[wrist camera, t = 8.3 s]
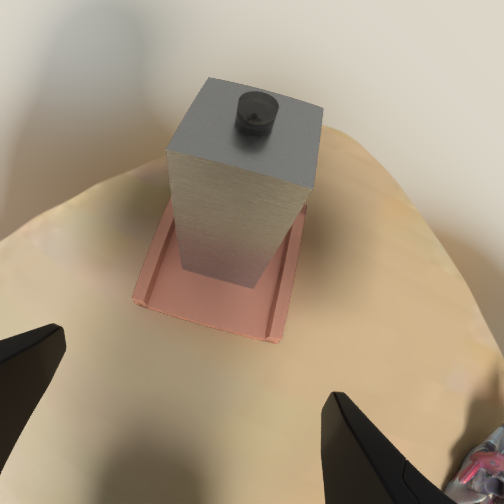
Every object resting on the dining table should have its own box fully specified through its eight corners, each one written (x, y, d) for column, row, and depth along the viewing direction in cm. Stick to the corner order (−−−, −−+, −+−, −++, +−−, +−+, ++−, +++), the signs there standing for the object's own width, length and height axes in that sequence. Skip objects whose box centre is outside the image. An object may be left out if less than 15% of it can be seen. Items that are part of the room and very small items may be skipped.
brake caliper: (423, 506, 14) (559, 449, 8) (440, 432, 23) (537, 382, 16) (448, 556, 11) (557, 515, 5) (463, 489, 20) (549, 449, 14)
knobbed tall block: (253, 289, 21) (323, 171, 9) (182, 269, 20) (163, 128, 8) (266, 231, 22) (331, 90, 11) (201, 213, 22) (210, 58, 10)
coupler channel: (275, 343, 20) (284, 339, 18) (136, 304, 20) (129, 296, 18) (300, 220, 24) (309, 205, 22) (181, 187, 24) (179, 169, 22)
